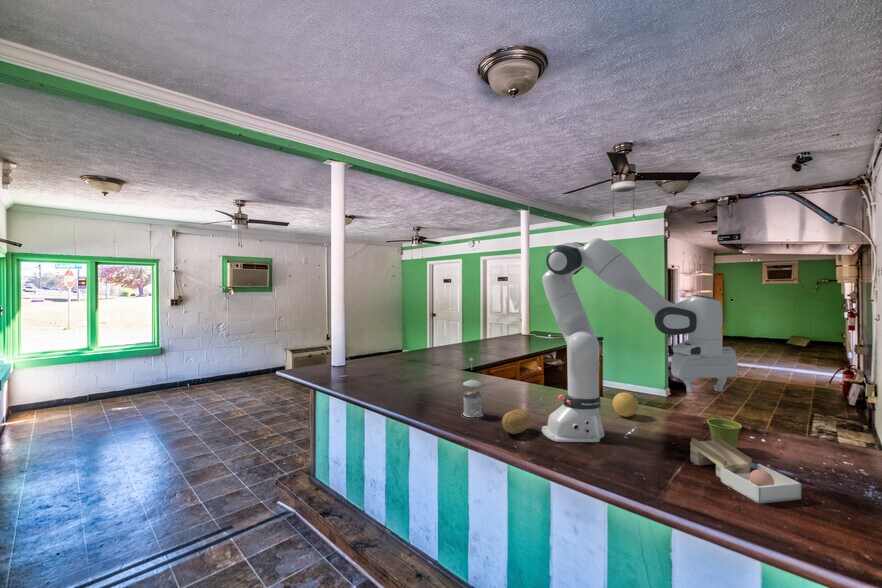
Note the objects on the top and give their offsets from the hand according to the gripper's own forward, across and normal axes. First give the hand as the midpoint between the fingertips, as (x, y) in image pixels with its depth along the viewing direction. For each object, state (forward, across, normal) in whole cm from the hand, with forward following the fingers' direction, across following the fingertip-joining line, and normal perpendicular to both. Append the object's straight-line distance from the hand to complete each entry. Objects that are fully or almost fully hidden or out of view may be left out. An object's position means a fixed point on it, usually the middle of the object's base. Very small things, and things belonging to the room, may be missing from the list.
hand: (704, 391), depth 120 cm
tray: (+21, 0, +18) cm, 28 cm away
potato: (+23, +50, -33) cm, 64 cm away
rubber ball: (+20, 0, +17) cm, 26 cm away
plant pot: (+22, -13, -6) cm, 26 cm away
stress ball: (+22, -1, -42) cm, 48 cm away
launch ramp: (+22, 0, +6) cm, 22 cm away
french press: (+23, +61, -57) cm, 87 cm away
